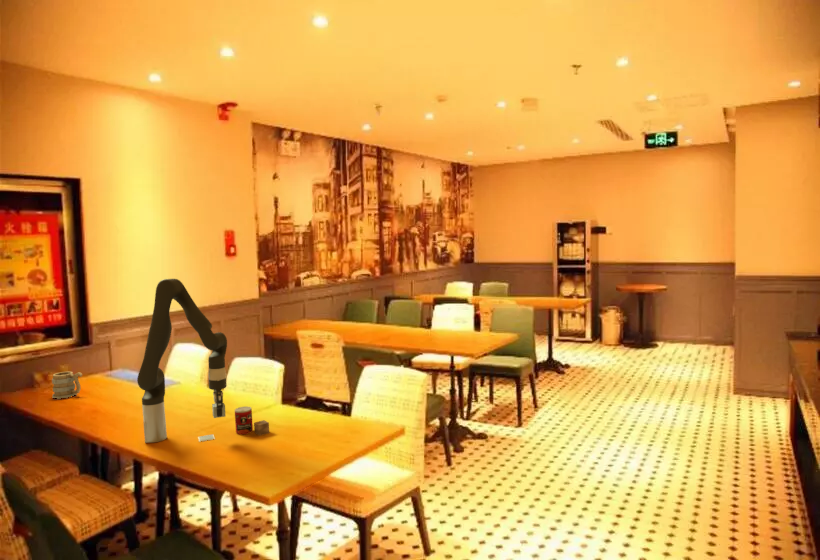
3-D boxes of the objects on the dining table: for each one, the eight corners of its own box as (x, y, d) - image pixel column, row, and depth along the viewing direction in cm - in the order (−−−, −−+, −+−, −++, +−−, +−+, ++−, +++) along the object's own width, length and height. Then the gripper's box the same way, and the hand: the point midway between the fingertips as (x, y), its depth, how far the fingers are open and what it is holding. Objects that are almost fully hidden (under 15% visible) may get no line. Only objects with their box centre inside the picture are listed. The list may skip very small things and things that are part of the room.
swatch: (199, 441, 263) (199, 441, 263) (197, 437, 270) (197, 436, 270) (215, 439, 266) (214, 438, 266) (213, 434, 272) (213, 433, 272)
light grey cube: (213, 418, 260) (213, 407, 260) (212, 414, 265) (212, 404, 265) (225, 416, 262) (225, 405, 262) (224, 413, 267) (223, 402, 267)
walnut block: (259, 435, 269) (258, 425, 268) (254, 433, 273) (253, 422, 272) (269, 433, 272) (268, 422, 271) (264, 430, 276) (263, 420, 275)
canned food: (235, 435, 270) (234, 412, 269) (236, 430, 278) (234, 407, 277) (253, 433, 272) (251, 410, 271) (252, 428, 280) (251, 405, 279)
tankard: (47, 398, 349) (45, 374, 348) (65, 393, 361) (63, 369, 360) (74, 400, 343) (71, 375, 342) (91, 394, 356) (89, 370, 354)
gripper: (207, 375, 267) (208, 411, 269) (210, 382, 254) (211, 420, 256) (224, 373, 270) (225, 409, 272) (228, 380, 257) (229, 418, 259)
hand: (219, 414), depth 264 cm, fingers closed on light grey cube, 5 cm apart
